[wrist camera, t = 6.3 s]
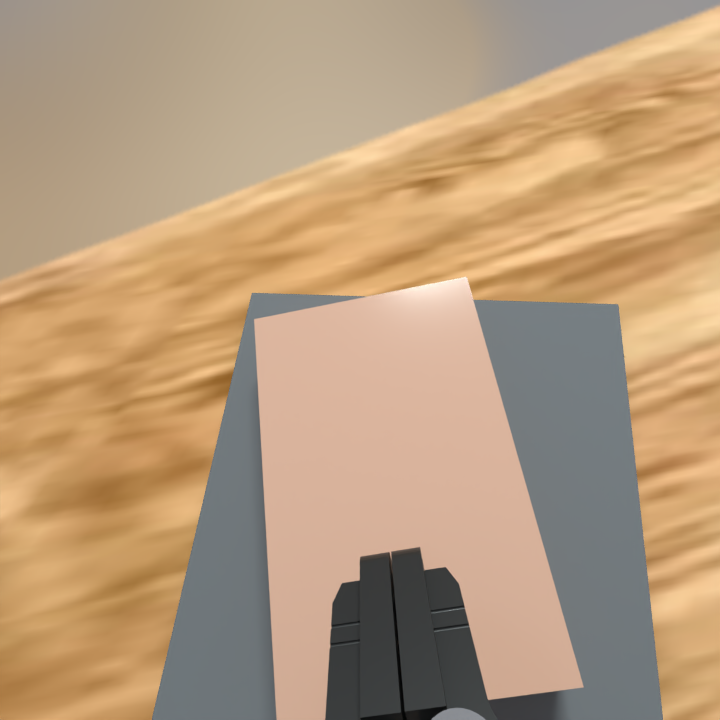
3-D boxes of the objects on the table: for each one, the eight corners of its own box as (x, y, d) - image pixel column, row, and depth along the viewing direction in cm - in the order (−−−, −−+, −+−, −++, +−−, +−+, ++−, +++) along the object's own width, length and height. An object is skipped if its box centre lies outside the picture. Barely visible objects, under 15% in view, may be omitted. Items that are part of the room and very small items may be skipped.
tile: (583, 687, 13) (466, 276, 18) (277, 728, 13) (254, 319, 19) (559, 665, 15) (462, 307, 21) (299, 701, 16) (273, 344, 21)
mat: (133, 833, 15) (122, 843, 15) (256, 298, 23) (252, 292, 23) (681, 976, 13) (692, 996, 12) (613, 311, 20) (618, 304, 20)
